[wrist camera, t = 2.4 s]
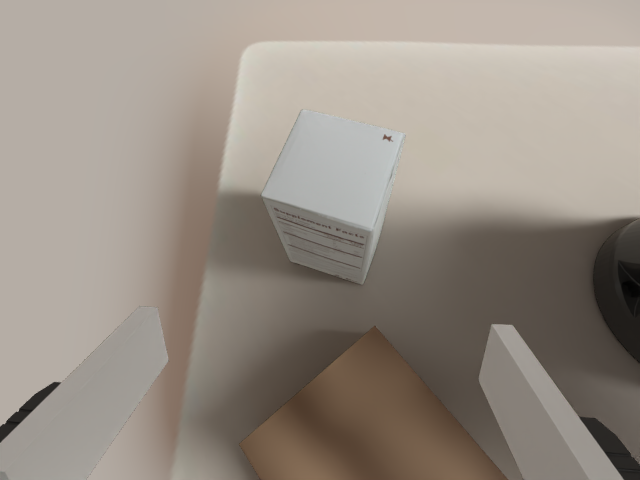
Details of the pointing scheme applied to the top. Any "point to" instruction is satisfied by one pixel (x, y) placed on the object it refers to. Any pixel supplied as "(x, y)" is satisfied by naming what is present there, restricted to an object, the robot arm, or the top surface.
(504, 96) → the top surface
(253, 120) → the top surface
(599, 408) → the top surface
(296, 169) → the supplement box
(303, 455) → the walnut block
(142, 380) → the robot arm
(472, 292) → the top surface
